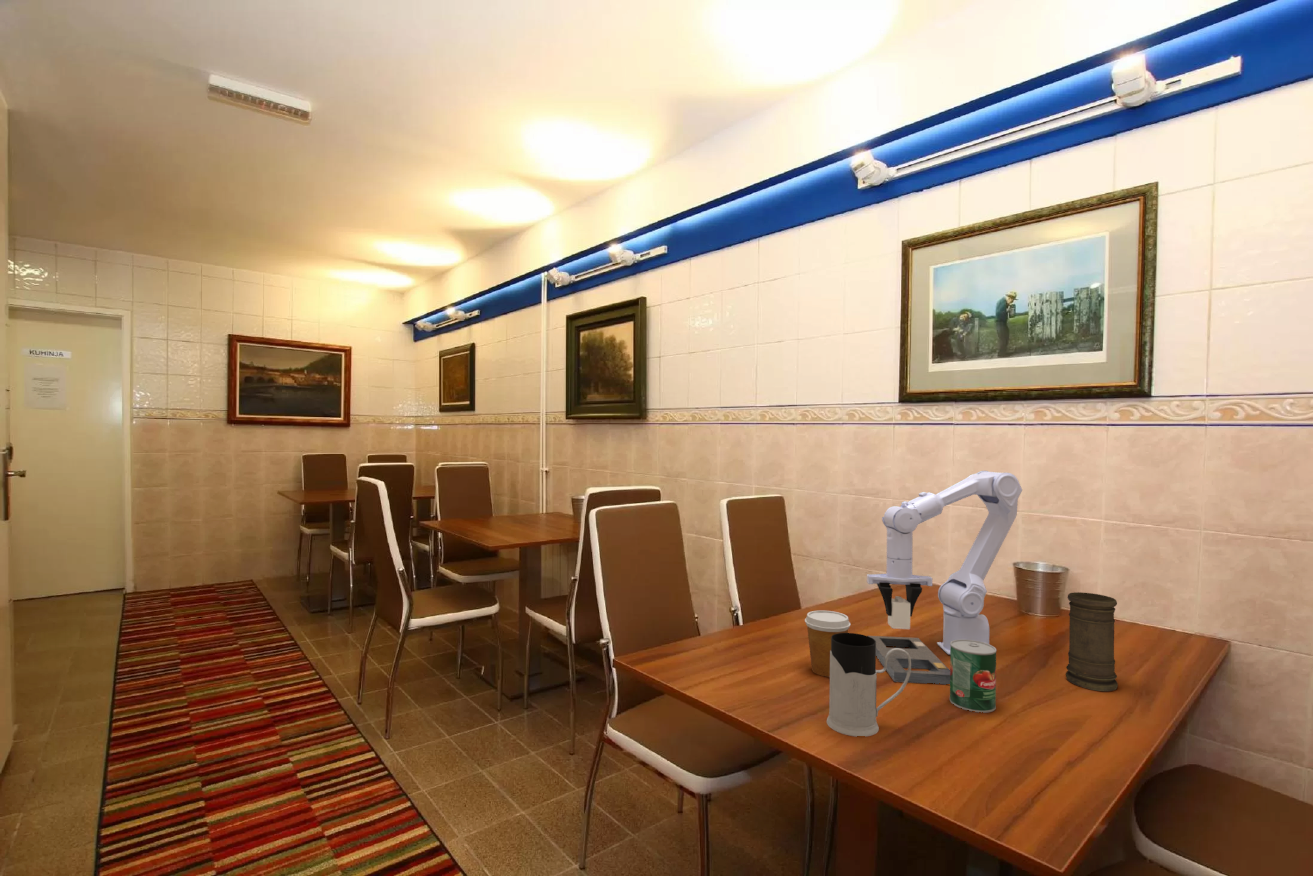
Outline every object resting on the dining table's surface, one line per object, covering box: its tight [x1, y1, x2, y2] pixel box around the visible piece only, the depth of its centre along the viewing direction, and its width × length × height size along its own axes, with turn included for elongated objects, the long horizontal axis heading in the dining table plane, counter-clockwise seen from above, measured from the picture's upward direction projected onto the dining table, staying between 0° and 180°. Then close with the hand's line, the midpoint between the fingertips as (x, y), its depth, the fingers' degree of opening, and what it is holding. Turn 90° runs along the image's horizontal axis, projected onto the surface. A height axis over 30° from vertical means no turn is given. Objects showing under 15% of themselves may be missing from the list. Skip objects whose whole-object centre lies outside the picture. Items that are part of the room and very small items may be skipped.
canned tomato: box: [949, 640, 997, 714], centre depth 118 cm, size 8×8×11 cm
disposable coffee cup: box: [804, 610, 851, 678], centre depth 134 cm, size 10×10×12 cm
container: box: [1065, 591, 1119, 692], centre depth 129 cm, size 9×9×18 cm
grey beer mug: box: [826, 632, 912, 737], centre depth 109 cm, size 9×14×15 cm, turn 84°
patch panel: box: [868, 635, 950, 685], centre depth 140 cm, size 12×24×2 cm, turn 174°
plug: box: [887, 595, 911, 630], centre depth 147 cm, size 4×4×7 cm
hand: (898, 615), depth 147 cm, fingers closed on plug, 4 cm apart
